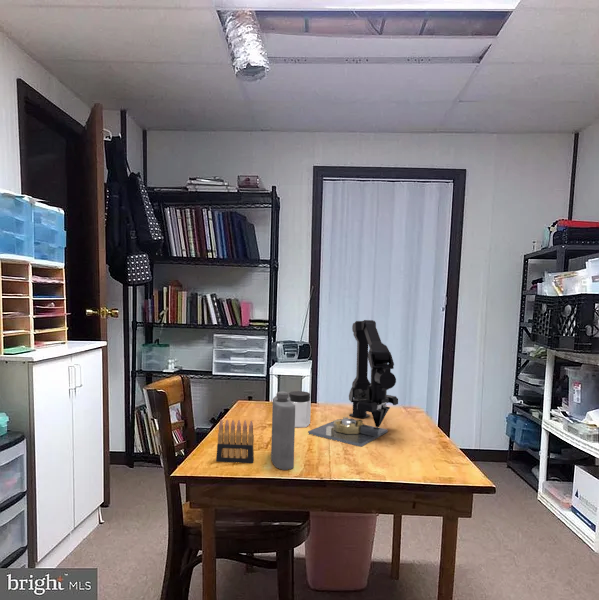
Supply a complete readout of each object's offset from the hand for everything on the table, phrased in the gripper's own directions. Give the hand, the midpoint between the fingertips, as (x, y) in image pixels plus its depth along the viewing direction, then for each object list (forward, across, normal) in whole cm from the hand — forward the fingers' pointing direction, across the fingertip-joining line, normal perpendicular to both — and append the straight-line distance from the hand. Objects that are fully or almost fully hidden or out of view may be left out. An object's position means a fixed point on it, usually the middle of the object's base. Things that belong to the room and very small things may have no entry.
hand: (377, 426), depth 154 cm
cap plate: (+3, +6, -8) cm, 11 cm away
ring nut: (+2, +6, -5) cm, 8 cm away
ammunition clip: (+3, +53, -15) cm, 55 cm away
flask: (+3, +43, -6) cm, 44 cm away
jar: (+3, +12, -28) cm, 30 cm away
